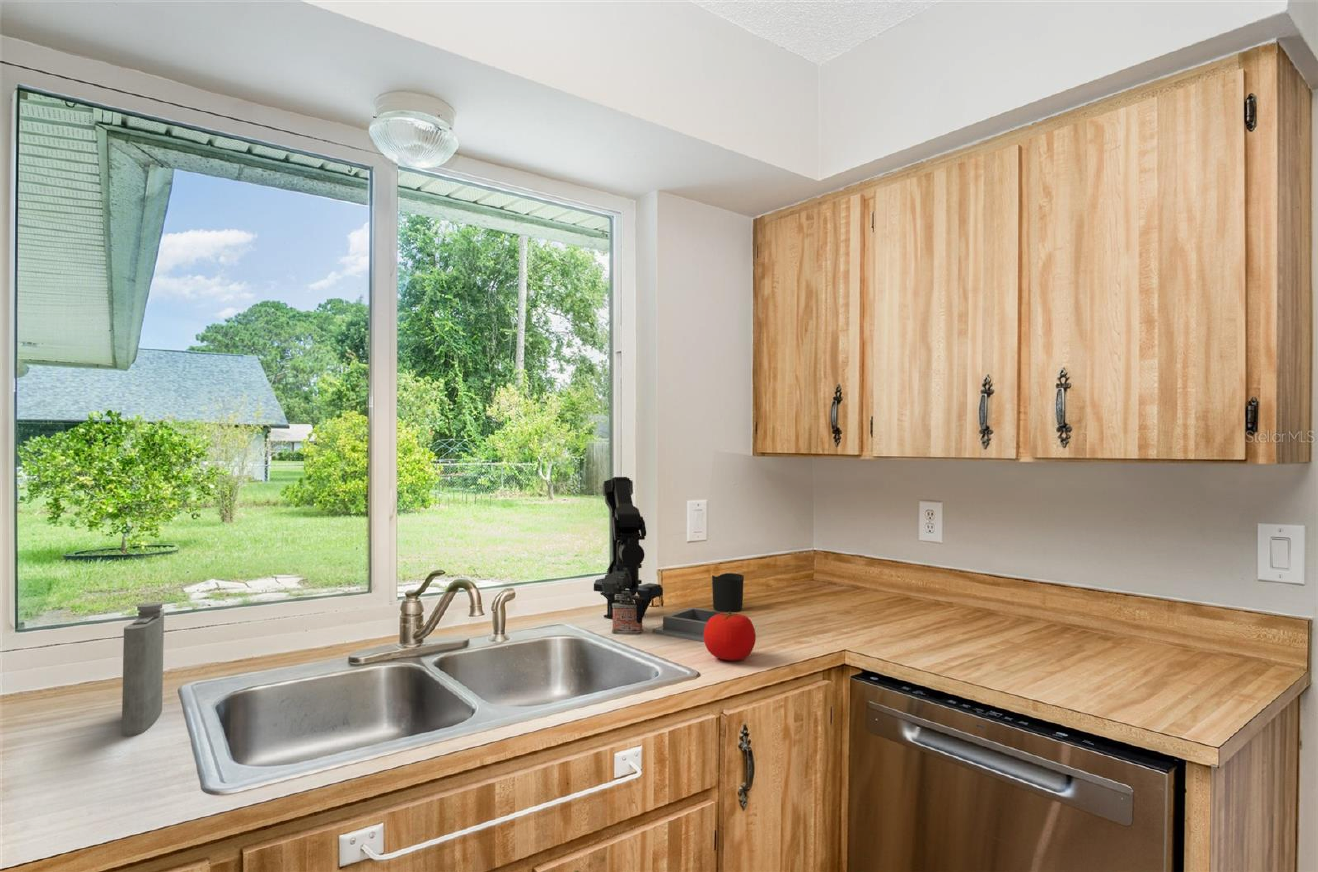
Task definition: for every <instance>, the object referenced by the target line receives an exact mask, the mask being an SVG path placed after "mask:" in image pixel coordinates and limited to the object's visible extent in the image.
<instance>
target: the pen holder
mask: <svg viewBox="0 0 1318 872" xmlns="http://www.w3.org/2000/svg"><path fill="white" fill-rule="evenodd" d="M711 580H712V581H711V584H712V586H711V587H712V607H713V609H714V611H720V612H728V613H729V612H731V613H737V612H741V611H742V610H743V605H744V604H743V603H744V575H743V574H740V573H732V572H725V573H722V574H720V575H718V576H715V575H713V574H712V575H711Z"/></svg>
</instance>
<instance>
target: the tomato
mask: <svg viewBox="0 0 1318 872" xmlns="http://www.w3.org/2000/svg"><path fill="white" fill-rule="evenodd" d="M756 639H757V637H756V630H755V626H754V624H753V622H752V620H751V618H749V617H748V616H746V615H744V614H742V613H740V612H739V613H737V612H726V613H720V614H716V615H714V616H713V617H711V618H710V619H709V621H708V622H707V624H706V626H705V629H704V642H703V643H704V644H705V648H706V650H707V651H708V653H710V654H711V655H712V656H714V657H715V658H717V659H720V660H725V661H741V660H745V659H746V658H747V657H749V655H751V653H752V652H753V649H754V647H755V644H756Z"/></svg>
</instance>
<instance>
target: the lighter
mask: <svg viewBox="0 0 1318 872" xmlns="http://www.w3.org/2000/svg"><path fill="white" fill-rule="evenodd" d="M636 597H639V596H638V594H636V595H632V594H627V595H624V594H616V595H615V600H620V603H612V607H613V619H612V629H611V634H613V635H627V636H628V635H629V636H632V635H636V636H638V635H640V636H641V635H642V634H644V629H643V620H642V621H641V623H639V624H638V623H637V603H636V601H635V600H634V598H636ZM623 600H625V602H624V603H623Z"/></svg>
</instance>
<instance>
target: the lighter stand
mask: <svg viewBox="0 0 1318 872" xmlns="http://www.w3.org/2000/svg"><path fill="white" fill-rule="evenodd" d="M720 613H726V612H721V611H716V610H713V609H707V608H700V607H699V608H698V607H693V606H692V607H689V608H686V609H683V610H680V611H679V610H678V611H677V612H674V613H670V614H667V615H664V616H663V617H662V625H660V626H657V627H656V626H655V627H654V628H652V629H651V632H652V634H657V635H658V634H659V635H662V636H663V635H664V636H669V637H673V638H674V637H675V638H681V639H686V640H692V641H696V642H697V641H698V642H703V643H705V642H704V629H705V626H706V624H707V622H708V621H709V619H710V618H711V617H713V616H714V615H716V614H720Z"/></svg>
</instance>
